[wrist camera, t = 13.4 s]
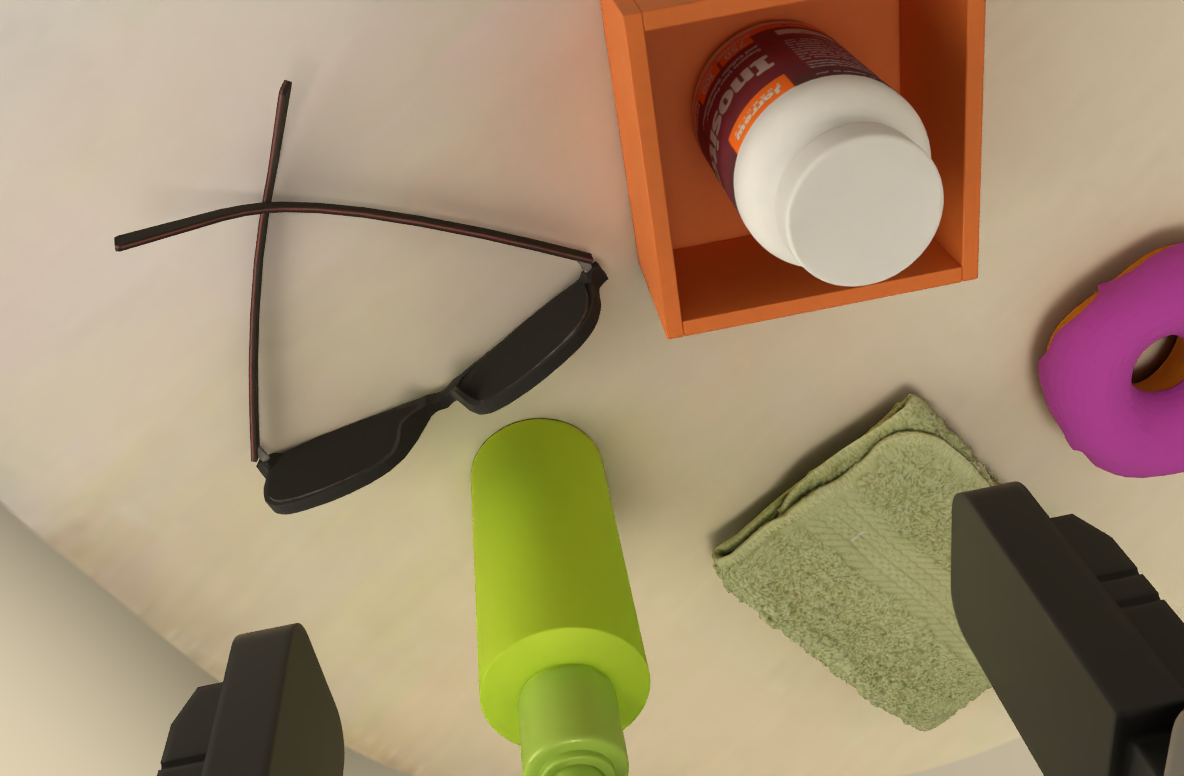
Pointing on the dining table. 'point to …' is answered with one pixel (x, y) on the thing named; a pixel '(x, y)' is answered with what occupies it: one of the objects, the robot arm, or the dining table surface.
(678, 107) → the bin
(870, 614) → the washcloth
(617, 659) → the soap dispenser
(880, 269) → the pill bottle
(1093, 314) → the donut
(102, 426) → the dining table surface
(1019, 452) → the dining table surface
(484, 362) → the sunglasses
